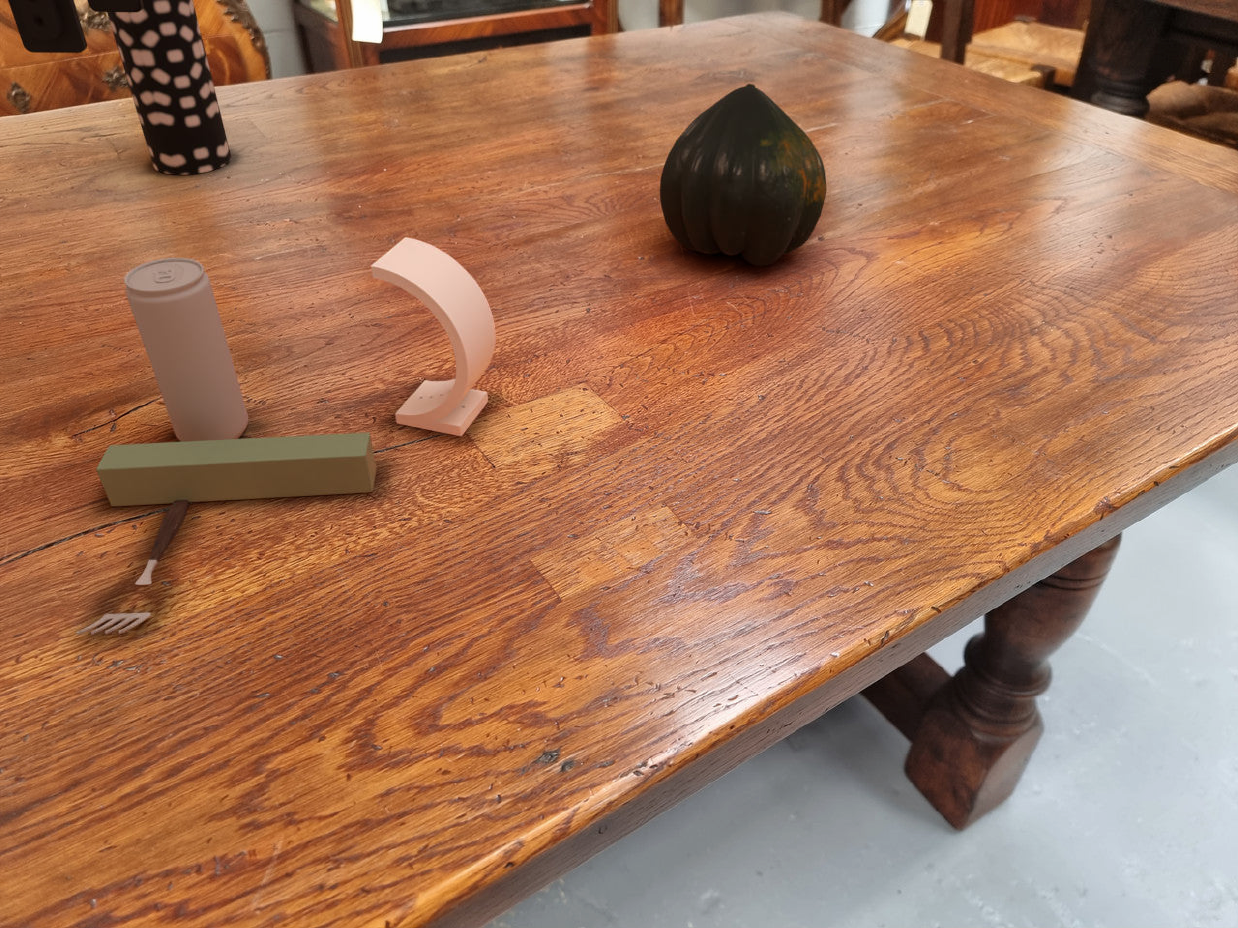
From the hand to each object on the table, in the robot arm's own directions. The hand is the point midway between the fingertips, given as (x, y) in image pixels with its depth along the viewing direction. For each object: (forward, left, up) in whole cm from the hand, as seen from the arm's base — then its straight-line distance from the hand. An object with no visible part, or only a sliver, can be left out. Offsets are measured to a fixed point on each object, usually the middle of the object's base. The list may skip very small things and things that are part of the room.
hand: (90, 30), depth 55 cm
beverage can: (+3, -9, -24) cm, 26 cm away
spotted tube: (-12, +45, -24) cm, 53 cm away
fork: (+3, -20, -25) cm, 32 cm away
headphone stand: (+19, -8, -24) cm, 32 cm away
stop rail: (+7, -15, -24) cm, 29 cm away
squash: (+45, +18, -24) cm, 55 cm away
